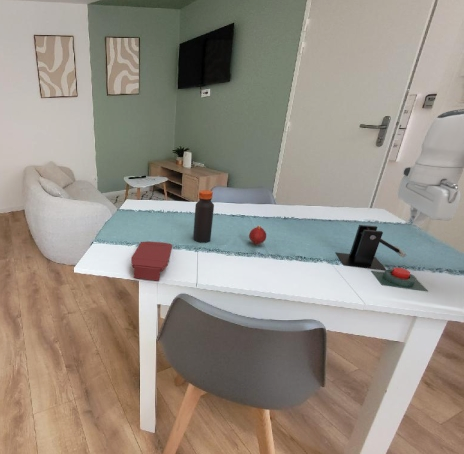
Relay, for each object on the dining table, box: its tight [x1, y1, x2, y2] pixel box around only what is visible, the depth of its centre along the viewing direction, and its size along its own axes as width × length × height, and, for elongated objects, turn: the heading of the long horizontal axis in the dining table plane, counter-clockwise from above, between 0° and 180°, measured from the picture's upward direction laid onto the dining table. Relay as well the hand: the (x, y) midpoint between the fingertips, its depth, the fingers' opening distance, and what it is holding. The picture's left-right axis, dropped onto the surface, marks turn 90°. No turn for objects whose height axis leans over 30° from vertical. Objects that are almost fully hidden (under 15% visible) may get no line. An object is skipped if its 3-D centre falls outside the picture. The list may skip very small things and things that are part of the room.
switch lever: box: [360, 227, 407, 258], centre depth 91 cm, size 12×5×2 cm, turn 68°
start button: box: [391, 267, 411, 279], centre depth 84 cm, size 4×4×2 cm
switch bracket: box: [335, 224, 387, 272], centre depth 93 cm, size 11×9×13 cm
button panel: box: [370, 268, 429, 293], centre depth 84 cm, size 10×8×3 cm
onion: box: [248, 225, 267, 246], centre depth 110 cm, size 6×6×8 cm
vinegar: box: [192, 189, 215, 243], centre depth 114 cm, size 7×7×20 cm
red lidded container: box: [130, 240, 173, 282], centre depth 104 cm, size 12×5×25 cm
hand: (414, 223), depth 82 cm, fingers closed
